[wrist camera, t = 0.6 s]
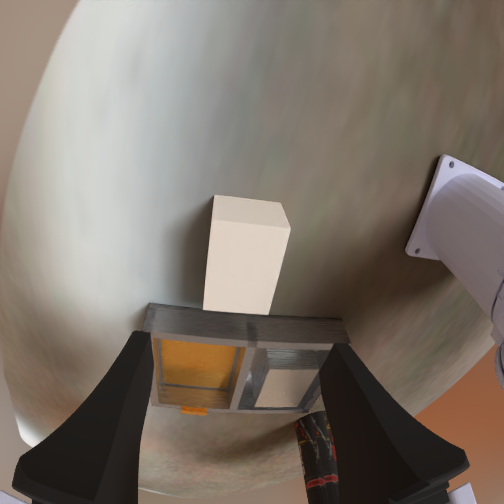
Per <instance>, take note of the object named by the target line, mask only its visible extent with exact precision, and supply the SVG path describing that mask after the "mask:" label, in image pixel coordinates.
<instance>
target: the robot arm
mask: <svg viewBox="0 0 504 504" xmlns="http://www.w3.org/2000/svg"><path fill="white" fill-rule="evenodd" d="M450 162H451V165H450V166H449V163H450ZM416 249H417V251H415V250H416ZM405 251H406V253H407V254H408V255H409V256H415V257H421V258H428V259H434V260H441V261H442V262H443V263H444V264H445V265H446V267H447V268H448V269H449V270H450V271H451V272H452V273H453V274H454V276H455V277H456V278H457V279H458V280H459V281H460V283H461V284H462V285H463V286H464V287H465V289H466V290H467V291H468V292H469V293H470V295H471V296H472V297H473V298H474V299H475V301H476V302H477V303H478V304H479V306H480V307H481V308H482V310H483V311H484V312H485V313H486V315H487V316H488V317H489V319H490V320H491V321H492V323H493V324H494V327H493V330H492V332H491V336H492V338H493V339H494V340H495V342H496V343H497V345H498V348H497V351H496V355H495V371H496V375H497V378H498V381H499V383H500V385H501V387H502V389H503V390H504V183H503V182H501V181H499V180H497V179H495V178H493V177H491V176H490V175H488V174H486V173H484V172H482V171H480V170H478V169H476V168H474V167H472V166H470V165H468V164H466V163H463V162H461V161H459V160H457V159H455V158H453V157H450V156H448V155H445V154H444V155H442V156H441V157H440V159H439V162H438V165H437V168H436V171H435V174H434V177H433V180H432V183H431V186H430V188H429V191H428V194H427V197H426V199H425V202H424V205H423V207H422V210H421V212H420V215H419V217H418V220H417V222H416V225H415V227H414V230H413V232H412V234H411V237H410V239H409V241H408V244H407V246H406V249H405ZM153 371H154V359H153V351H152V342H151V333H150V332H142V331H134V332H132V334H131V336H130V338H129V339H128V341H127V343H126V345H125V346H124V348H123V349H122V351H121V353H120V354H119V356H118V357H117V359H116V360H115V362H114V363H113V365H112V366H111V368H110V369H109V370H108V372H107V373H106V375H105V376H104V377H103V379H102V380H101V381H100V383H99V384H98V385H97V387H96V388H95V389H94V390H93V392H92V393H91V394H90V395H89V397H88V398H87V399H86V400H85V401H84V402H83V403H82V405H81V406H80V407H79V408H78V409H77V410H76V411H75V412H74V413H73V414H72V415H71V416H70V417H69V418H68V419H67V420H66V421H65V422H64V423H63V424H62V425H61V426H60V427H59V428H57V429H56V430H55V431H54V432H53V433H51V434H50V435H49V436H48V437H47V438H46V439H44V440H43V441H42V442H41V443H39V444H38V445H36V446H35V447H34V448H32V449H31V450H29V451H28V452H26V453H25V454H23V455H22V456H21V457H20V458H19V461H18V463H17V465H16V469H15V473H14V478H13V482H12V487H13V489H15V490H16V491H18V492H20V493H22V494H24V495H25V496H27V497H29V498H31V499H32V504H138V469H139V453H140V442H141V435H142V430H143V425H144V420H145V416H146V411H147V407H148V402H149V397H150V393H151V388H152V380H153ZM319 379H320V387H321V394H322V398H323V402H324V406H325V410H326V414H327V417H328V421H329V425H330V429H331V432H332V436H333V441H334V446H335V453H336V461H337V472H338V488H339V504H477V503H476V500H475V497H474V494H473V491H472V488H471V485H470V483H469V482H467V483H466V484H464V485H462V486H460V487H458V488H456V489H454V490H452V491H450V492H448V493H447V491H446V489H447V488H448V487H449V483H448V481H449V480H451V479H452V478H454V477H456V476H457V475H459V474H461V473H462V472H464V471H465V470H467V469H468V468H469V466H470V464H469V461H468V459H467V456H466V454H465V451H464V450H463V449H461V448H459V447H457V446H455V445H453V444H451V443H449V442H447V441H445V440H444V439H442V438H441V437H439V436H438V435H436V434H434V433H433V432H432V431H430V430H429V429H427V428H426V427H425V426H423V425H422V424H421V423H420V422H418V421H417V420H416V419H415V418H413V417H412V416H411V415H410V414H409V413H408V412H407V411H406V410H405V409H403V408H402V407H401V406H400V405H399V404H398V403H397V402H396V401H395V400H394V399H393V398H392V396H391V395H390V394H389V393H388V392H387V391H386V390H385V389H384V388H383V386H382V385H381V384H380V383H379V382H378V381H377V379H376V378H375V377H374V376H373V375H372V373H371V372H370V371H369V370H368V368H367V367H366V366H365V365H364V363H363V362H362V361H361V360H360V358H359V357H358V356H357V354H356V353H355V352H354V351H353V349H352V348H351V347H350V346H349V344H348V343H334V344H333V346H332V348H331V350H330V352H329V354H328V356H327V358H326V360H325V362H324V364H323V366H322V367H321V369H320V371H319ZM0 504H29V503H27V502H25V501H23V500H21V499H18V498H17V497H14V496H12V495H10V494H8V493H6V492H5V491H3V490H0Z"/></svg>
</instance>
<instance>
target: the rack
mask: <svg viewBox="0 0 504 504" xmlns="http://www.w3.org/2000/svg"><path fill="white" fill-rule="evenodd" d="M142 332H150V333H151V342H152V351H153V359H154V371H153V380H152V388H151V393H150V396H151V402H152V406H159V407H167V408H175V409H181V413H182V414H193V415H205V416H206V415H207V412H224V413H254V414H278V413H308V411H309V410H310V408H311V407H312V406H313V404H314V403H315V401H316V400H317V398H318V397H319V395H320V394H321V387H320V379H319V371H320V369H321V367H322V366H323V364H324V362H325V360H326V358H327V356H328V354H329V352H330V350H331V348H332V346H333V344H334V343H348V344H349V346H350V345H351V342H350V339H349V337H348V334H347V332H346V329H345V327H344V324H343V322H342V319H330V318H309V317H292V316H276V315H262V314H247V313H234V312H222V311H210V310H203V309H197V308H188V307H179V306H171V305H163V304H155V303H149V306H148V310H147V313H146V317H145V321H144V325H143V329H142Z"/></svg>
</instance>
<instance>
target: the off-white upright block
mask: <svg viewBox="0 0 504 504" xmlns="http://www.w3.org/2000/svg"><path fill="white" fill-rule="evenodd" d="M290 230H291V228H290V225H289V223H288V220H287V218H286V215H285V213H284V210H283V208H282V205H281V203H277V202H269V201H262V200H254V199H246V198H237V197H228V196H220V195H214V203H213V212H212V220H211V229H210V238H209V248H208V257H207V268H206V278H205V290H204V303H203V310H210V311H222V312H234V313H247V314H262V315H268V314H269V310H270V307H271V303H272V299H273V295H274V292H275V288H276V284H277V280H278V277H279V273H280V269H281V265H282V261H283V257H284V254H285V250H286V246H287V242H288V238H289V234H290Z"/></svg>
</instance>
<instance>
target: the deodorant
mask: <svg viewBox="0 0 504 504" xmlns="http://www.w3.org/2000/svg"><path fill="white" fill-rule="evenodd" d="M295 429H296V434H297V440H298V446H299V451H300V457H301V463H302V468H303V474H304V480H305V485H306V492H307V497H308V503H309V504H339V488H338V472H337V461H336V453H335V446H334V441H333V436H332V432H331V429H330V425H329V421H328V417H327V414H326V411H320V412H315V413H312V414H309V415H306V416H304V417H302V418H300V419H299V420H298V421H297V422H296V423H295Z"/></svg>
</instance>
